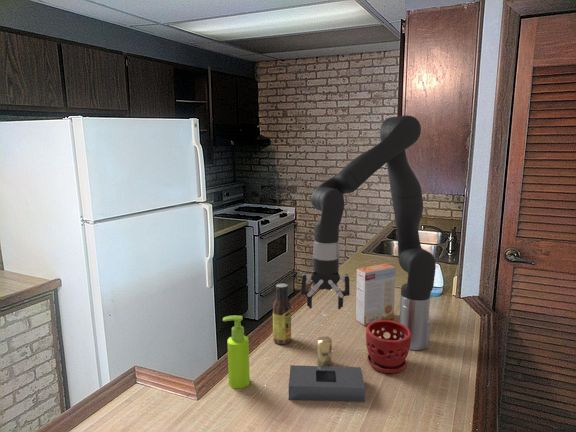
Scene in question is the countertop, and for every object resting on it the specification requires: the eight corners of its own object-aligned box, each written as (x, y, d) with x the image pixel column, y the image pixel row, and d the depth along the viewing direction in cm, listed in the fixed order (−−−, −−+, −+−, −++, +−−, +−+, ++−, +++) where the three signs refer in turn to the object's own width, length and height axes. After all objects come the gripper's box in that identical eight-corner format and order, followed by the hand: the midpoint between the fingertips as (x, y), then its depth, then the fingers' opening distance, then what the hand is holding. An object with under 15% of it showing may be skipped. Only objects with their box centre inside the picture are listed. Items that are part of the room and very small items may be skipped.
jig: (360, 379, 118) (360, 367, 118) (364, 401, 109) (364, 388, 108) (290, 377, 120) (290, 365, 119) (288, 399, 110) (288, 385, 109)
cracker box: (384, 313, 163) (386, 262, 159) (394, 319, 157) (396, 267, 153) (354, 320, 157) (356, 267, 153) (364, 326, 152) (365, 272, 148)
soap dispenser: (225, 377, 120) (223, 312, 116) (249, 375, 121) (248, 311, 117) (224, 389, 114) (222, 321, 111) (249, 387, 115) (247, 320, 111)
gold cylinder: (331, 360, 129) (331, 336, 127) (331, 368, 125) (332, 343, 123) (317, 359, 129) (317, 336, 128) (317, 367, 125) (317, 343, 123)
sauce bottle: (289, 346, 138) (288, 289, 134) (270, 344, 139) (270, 288, 135) (292, 337, 144) (292, 282, 140) (275, 335, 145) (274, 281, 141)
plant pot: (356, 363, 127) (357, 327, 125) (384, 350, 135) (385, 316, 133) (390, 383, 117) (391, 344, 115) (418, 367, 125) (420, 330, 122)
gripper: (349, 252, 124) (347, 303, 127) (301, 251, 124) (301, 302, 128) (351, 259, 116) (349, 313, 119) (301, 258, 117) (300, 312, 120)
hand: (324, 307), depth 123 cm, fingers open, 8 cm apart
